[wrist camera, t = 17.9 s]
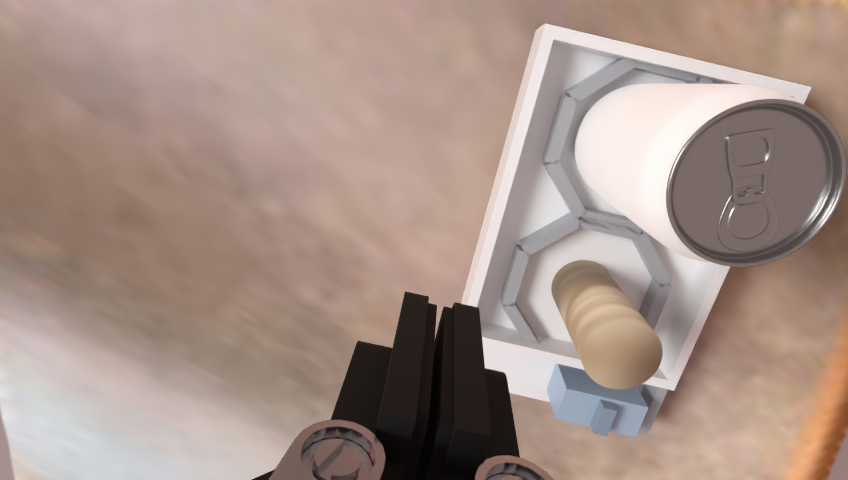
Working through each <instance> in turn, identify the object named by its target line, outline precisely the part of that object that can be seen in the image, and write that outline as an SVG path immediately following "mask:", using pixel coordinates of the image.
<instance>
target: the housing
mask: <svg viewBox="0 0 848 480" xmlns="http://www.w3.org/2000/svg"><path fill="white" fill-rule="evenodd" d="M634 84H741V85H754V86H761V87H766V88H770V89H774V90H777V91H780V92H782V93H785V94H787V95H789V96H790V97H792V98H794V99H795V100H797V101H798V102H799V103H801V104H804V103H805V100H806V98H807V96H808V94H809V92H810V89H811V87H809V86H805V85H800V84H796V83H792V82H788V81H784V80H779V79H775V78H771V77H767V76H763V75H758V74H754V73H750V72H746V71H742V70H738V69H733V68H729V67H725V66H721V65H717V64H712V63H708V62H704V61H700V60H696V59H691V58H687V57H683V56H679V55H675V54H671V53H666V52H662V51H658V50H654V49H650V48H645V47H641V46H637V45H633V44H629V43H625V42H620V41H616V40H612V39H608V38H604V37H599V36H595V35H591V34H587V33H583V32H578V31H574V30H570V29H566V28H562V27H558V26H553V25H549V24H544V25H543V26H541V27H540V28H538V29H537V30H536V32H535V35H534V39H533V43H532V46H531V50H530V53H529V57H528V61H527V64H526V68H525V72H524V75H523V79H522V83H521V86H520V90H519V94H518V97H517V101H516V105H515V108H514V112H513V116H512V119H511V123H510V126H509V130H508V134H507V137H506V141H505V145H504V148H503V152H502V156H501V159H500V163H499V167H498V170H497V174H496V178H495V181H494V185H493V188H492V192H491V196H490V199H489V203H488V207H487V210H486V214H485V218H484V221H483V225H482V229H481V232H480V236H479V240H478V243H477V247H476V251H475V254H474V258H473V261H472V265H471V269H470V272H469V276H468V280H467V283H466V287H465V291H464V294H463V298H462V302H461V304H464V305H469V306H474V307H478V308H479V312H480V322H481V332H482V343H483V353H484V363H485V368H486V369H491V370H496V371H500V372H504V373H505V374H506V377H507V382H508V388H509V393H513V394H517V395H522V396H526V397H530V398H534V399H539V400H543V401H547V402H550V399H549V396H548V393H547V387H548V384H549V381H550V379H551V376H552V373H553V370H554V367H555V365H556V363H557V364H561V365H565V366H570V367H574V368H578V369H583V370H585V369H584V367H583V364H582V362H581V360H580V358H579V355H578V353H577V351H576V349H575V346H574V344H573V342H572V339H571V337H570V335H569V333H568V330H567V328H566V326H565V324H564V321H563V319H562V317H561V315H560V312H559V310H558V308H557V306H556V303H555V301H554V299H553V296H552V292H551V286H552V281H553V278H554V276H555V275H556V273H557V272H558V271H559V270H560V269H561V268H562V267H563V266H565V265H566V264H568V263H570V262H573V261H577V260H590V261H593V262H596V263H598V264H600V265H601V266H602V267H603V268H604V269H605V270H606V271H607V272H608V273H609V275H610V276H611V277H612V279H613V280H614V281H615V282H616V284H617V285H618V286H619V287H620V289H621V290H622V291H623V292H624V294H625V295H626V296H627V298H628V299H629V300H630V301H631V303H632V304H633V305H634V306H635V308H636V309H637V310H638V311H639V313H640V314H641V315H642V317H643V318H644V319H645V320H646V322H647V323H648V324H649V325H650V327H651V328H652V329H653V331H654V332H655V333H656V334H657V336H658V337H659V339H660V341H661V344H662V349H663V356H662V361H661V364H660V366H659V368H658V370H657V371H656V372H655V374H654V375H653V376H652V377H651V378H650V379H648V380H647V381H646V382H644V383H642V384H641V385H638V386H636V387H637V389H638V390H639V392H640V394H641V395H642V397H643V399H644V401H645V402H646V404H647V406H648V407H649V408H648V411H647V413H646V415H645V417H644V420H643V422H642V424H641V427H640V429H639V431H638V433H639V434H644V435H648V434H649V431H650V429H651V427H652V425H653V422H654V420H655V418H656V416H657V414H658V411H659V409H660V407H661V405H662V402H663V400H664V398H665V396H666V393H667V391H668V389H669V390H673V391H674V390H675V388H676V386H677V383H678V381H679V379H680V377H681V374H682V372H683V370H684V368H685V366H686V363H687V361H688V359H689V357H690V355H691V352H692V350H693V348H694V346H695V344H696V341H697V339H698V337H699V335H700V332H701V330H702V328H703V326H704V324H705V321H706V319H707V317H708V315H709V313H710V310H711V308H712V306H713V304H714V302H715V299H716V297H717V295H718V293H719V290H720V288H721V286H722V284H723V282H724V279H725V277H726V275H727V273H728V271H729V268H730V266H724V265H719V264H716V263H712V262H704V261H698V260H694V259H691V258H688V257H685V256H682V255H680V254H678V253H676V252H674V251H672V250H670V249H669V248H667V247H666V246H664V245H663V244H661V243H660V242H659V241H657V240H656V239H655V238H653V237H652V236H651V235H649V234H648V233H647V232H645V231H644V230H643V229H641V228H640V227H639V226H638V225H636V224H635V223H634V222H632V221H631V220H630V219H629V218H627V217H626V216H625V215H623V214H622V213H621V212H620V211H618V210H617V209H616V208H615V207H613V206H612V205H611V204H609V203H608V202H607V201H606V200H604V199H603V198H602V197H601V196H600V195H598V194H597V193H596V192H595V191H594V190H593V189H591V188H590V187H589V186H588V184H587V183H586V182H585V181H584V179H583V178H582V176H581V174H580V172H579V170H578V167H577V164H576V159H575V140H576V136H577V132H578V129H579V126H580V124H581V122H582V120H583V118H584V117H585V115H586V114H587V112H588V111H589V110H590V109H591V107H592V106H593V105H594V104H595V103H596V102H597V101H599V100H600V99H601V98H602V97H604V96H605V95H607V94H608V93H610V92H612V91H614V90H616V89H619V88H621V87H625V86H629V85H634Z"/></svg>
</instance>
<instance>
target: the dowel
mask: <svg viewBox="0 0 848 480" xmlns="http://www.w3.org/2000/svg"><path fill="white" fill-rule="evenodd" d="M551 292H552V296H553V299H554V301H555V303H556V306H557V308H558V310H559V312H560V315H561V317H562V319H563V321H564V324H565V326H566V328H567V330H568V333H569V335H570V337H571V339H572V342H573V344H574V346H575V349H576V351H577V353H578V355H579V358H580V360H581V362H582V364H583V367H584V369H585V371H586V373H587V374H588V376H589V377H590V378H591V379H592V380H593V381H594V382H596V383H597V384H599V385H601V386H603V387H606V388H610V389H629V388H633V387H636V386H638V385H641V384H642V383H644V382H646V381H647V380H648V379H650V378H651V377H652V376H653V375H654V374H655V372H656V371H657V370H658V368H659V366H660V364H661V361H662V356H663V349H662V344H661V341H660V339H659V337H658V336H657V334H656V333H655V332H654V331H653V329H652V328H651V327H650V325H649V324H648V323H647V322H646V320H645V319H644V318H643V317H642V315H641V314H640V313H639V311H638V310H637V309H636V308H635V306H634V305H633V304H632V303H631V301H630V300H629V299H628V298H627V296H626V295H625V294H624V292H623V291H622V290H621V289H620V287H619V286H618V285H617V284H616V282H615V281H614V280H613V279H612V277H611V276H610V275H609V273H608V272H607V271H606V270H605V269H604V268H603V267H602V266H601V265H600V264H598V263H596V262H593V261H590V260H577V261H573V262H570V263H568V264H566V265H565V266H563V267H562V268H561V269H560V270H559V271H558V272H557V273H556V275H555V276H554V278H553V281H552V286H551Z"/></svg>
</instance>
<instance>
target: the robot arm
mask: <svg viewBox="0 0 848 480" xmlns="http://www.w3.org/2000/svg"><path fill="white" fill-rule="evenodd" d="M428 300H429V297H428V296H423V295H419V294H414V293H409V292H405V294H404V299H403V303H402V308H401V312H400V317H399V321H398V326H397V330H396V335H395V339H394V344H393V348H389V347H384V346H380V345H375V344H371V343H366V342H361V341H358V342H357V344H356V347H355V350H354V353H353V356H352V359H351V362H350V365H349V368H348V371H347V374H346V377H345V380H344V383H343V385H342V388H341V391H340V394H339V397H338V400H337V403H336V406H335V409H334V412H333V415H332V418H331V420H326V421H322V422H318V423H314V424H313V425H311V426H309V427H307V428H306V429H304V430H303V431H302V432H301V433H300V434H299V435H298V436H297V437H296V438H295V440H294V441H293V443H292V444H291V446H290V447H289V449H288V450H287V452H286V454H285V455H284V457H283V458H282V460H281V461H280V463H279V464H278V466H277V467H276V469H275V470H273V471H271V472H268V473H266V474H264V475H261V476H259V477H257V478H255V479H252V480H554V479H553V478H552V477H551V476H550V475H549V474H548V473H547V472H546V471H544V470H543V469H541V468H540V467H539V466H537V465H536V464H534V463H532V462H529V461H527V460H525V459H523V458H520V456H519V450H518V444H517V438H516V431H515V425H514V419H513V413H512V407H511V401H510V395H509V388H508V382H507V377H506V374H505V373H504V372H500V371H496V370H491V369H486V368H485V363H484V353H483V343H482V332H481V322H480V312H479V308H478V307H474V306H469V305H464V304H460V303H454V305H453V307H452V308H448V307H444V308H443V311H442V315H441V319H440V322H439V326H438V330H437V334H436V338H435V326H436V311H437V305H435V304H430V303H428ZM434 340H435V342H434Z"/></svg>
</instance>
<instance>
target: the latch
mask: <svg viewBox="0 0 848 480" xmlns="http://www.w3.org/2000/svg"><path fill="white" fill-rule="evenodd" d="M547 393H548V396H549V399H550V403H551V406H552V410H553V413H554V416H555V419H558V420H562V421H566V422H571V423H575V424H579V425H584V426H588V427H591V428H592V430H593V433H596V434H600V435H604V436H607V435H608V432H614V433H618V434H622V435H627V436H631V437H635V438H636V436H637V433H638V431H639V429H640V427H641V424H642V422H643V420H644V417H645V415H646V413H647V411H648V408H649V407H648V406H647V404H646V402H645V401H644V399H643V397H642V395H641V394H640V392H639V390H638V389H637V387H633V388H629V389H610V388H606V387H603V386H601V385H599V384H597V383H596V382H594V381H593V380H592V379H591V378H590V377H589V376H588V374H587V373H586V371H585V370H583V369H578V368H574V367H570V366H565V365H561V364H557V363H556V365H555V367H554V370H553V373H552V376H551V379H550V381H549V384H548V387H547Z"/></svg>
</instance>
